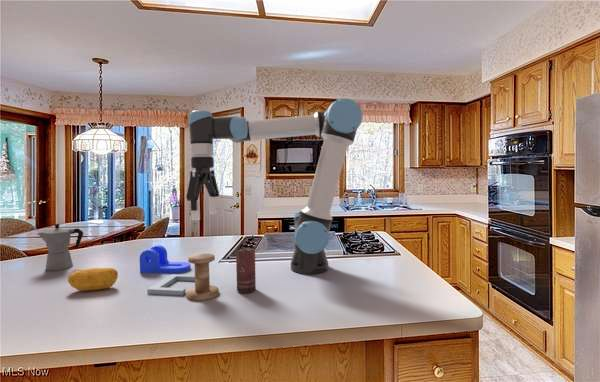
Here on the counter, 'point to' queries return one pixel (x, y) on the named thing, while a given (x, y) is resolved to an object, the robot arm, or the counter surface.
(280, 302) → the counter surface
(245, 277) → the can
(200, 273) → the bobbin
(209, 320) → the counter surface
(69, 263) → the coffeepot
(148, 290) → the grey u-shaped frame
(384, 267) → the counter surface
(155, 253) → the bracket
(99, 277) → the potato
